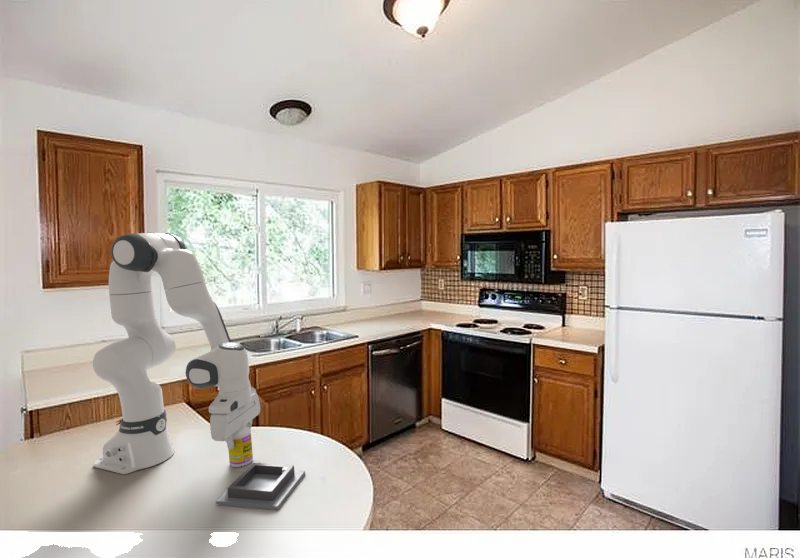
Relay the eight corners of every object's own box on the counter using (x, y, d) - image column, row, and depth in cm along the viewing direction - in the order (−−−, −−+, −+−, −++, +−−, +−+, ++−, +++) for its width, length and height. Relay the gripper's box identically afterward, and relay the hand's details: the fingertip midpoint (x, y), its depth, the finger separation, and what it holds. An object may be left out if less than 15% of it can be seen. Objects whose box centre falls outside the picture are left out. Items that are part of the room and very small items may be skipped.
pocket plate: (216, 504, 106) (214, 491, 106) (250, 470, 122) (249, 459, 121) (277, 510, 102) (276, 496, 102) (305, 474, 118) (304, 462, 118)
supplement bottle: (245, 468, 123) (241, 426, 121) (225, 467, 124) (221, 425, 123) (257, 457, 129) (253, 417, 128) (238, 456, 130) (234, 416, 129)
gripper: (245, 384, 136) (249, 425, 137) (204, 410, 116) (208, 457, 117) (263, 385, 134) (266, 426, 135) (224, 410, 114) (229, 459, 116)
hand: (239, 441), depth 126 cm, fingers closed on supplement bottle, 7 cm apart
